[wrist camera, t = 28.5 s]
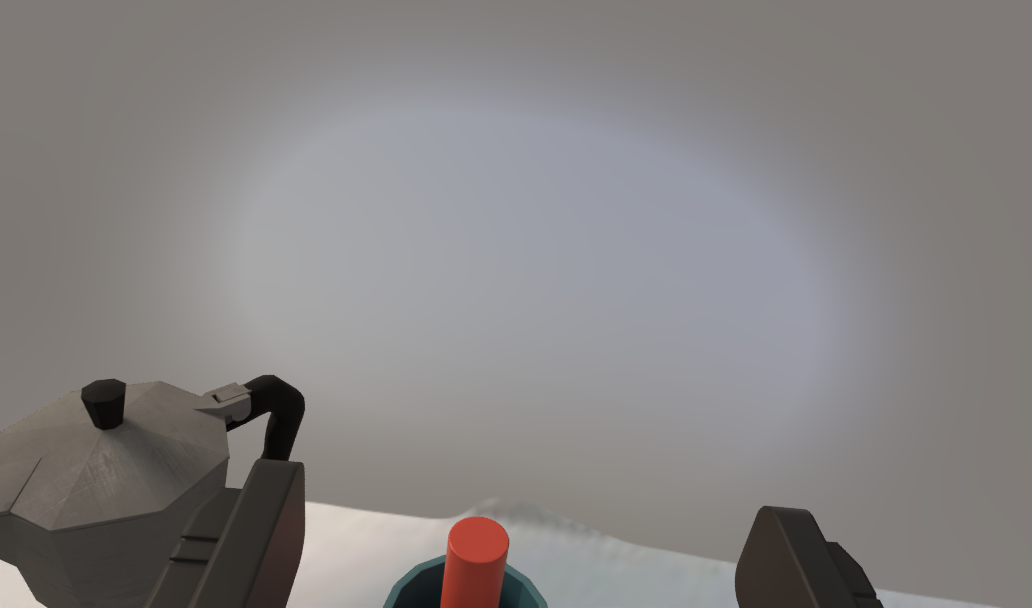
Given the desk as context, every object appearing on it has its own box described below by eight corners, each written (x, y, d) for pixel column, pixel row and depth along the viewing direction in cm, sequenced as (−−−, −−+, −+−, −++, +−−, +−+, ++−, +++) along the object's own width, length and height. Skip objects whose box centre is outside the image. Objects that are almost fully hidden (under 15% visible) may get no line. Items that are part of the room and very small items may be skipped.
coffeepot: (35, 852, 29) (-77, 536, 21) (-29, 689, 35) (-139, 385, 26) (351, 637, 40) (359, 368, 31) (264, 537, 45) (252, 285, 37)
